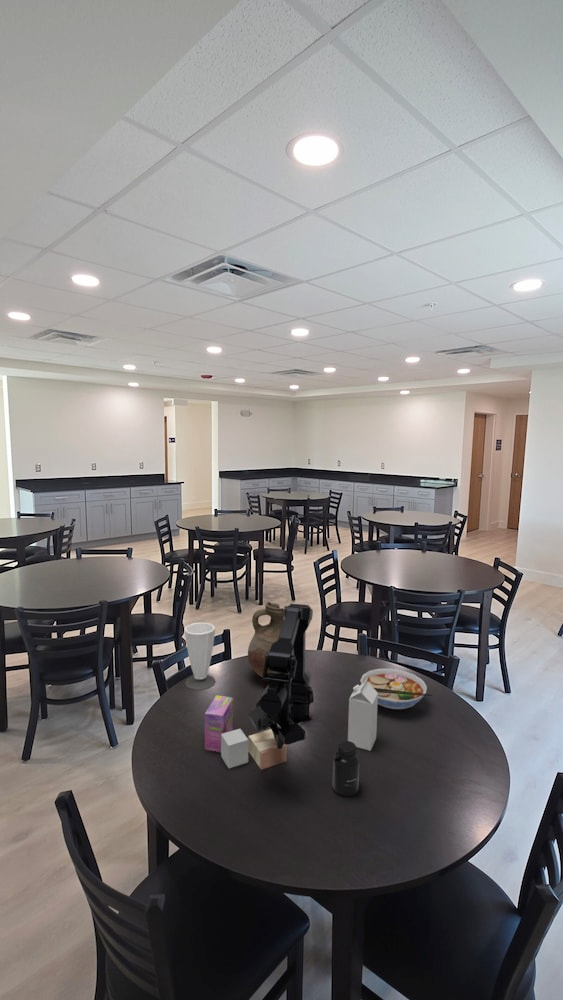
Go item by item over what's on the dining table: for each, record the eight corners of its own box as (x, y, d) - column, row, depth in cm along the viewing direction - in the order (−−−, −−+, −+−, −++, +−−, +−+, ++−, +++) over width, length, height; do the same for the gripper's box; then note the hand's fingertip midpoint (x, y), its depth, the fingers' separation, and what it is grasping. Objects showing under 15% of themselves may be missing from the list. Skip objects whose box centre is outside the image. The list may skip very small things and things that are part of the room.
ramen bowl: (425, 690, 178) (426, 669, 177) (433, 725, 156) (434, 702, 155) (357, 683, 183) (357, 663, 182) (355, 717, 160) (356, 694, 159)
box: (222, 753, 141) (222, 715, 140) (204, 750, 143) (204, 713, 141) (233, 732, 151) (233, 697, 150) (216, 729, 153) (215, 694, 151)
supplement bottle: (352, 801, 123) (353, 757, 122) (328, 790, 127) (329, 748, 125) (362, 785, 129) (364, 743, 127) (339, 775, 132) (340, 735, 131)
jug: (310, 689, 178) (311, 611, 174) (252, 695, 173) (252, 615, 169) (295, 663, 199) (296, 593, 195) (244, 668, 194) (244, 596, 190)
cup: (213, 690, 177) (212, 634, 174) (181, 689, 177) (181, 633, 174) (217, 675, 188) (217, 622, 185) (188, 674, 188) (187, 621, 185)
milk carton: (376, 738, 149) (378, 680, 147) (370, 751, 143) (372, 691, 140) (354, 732, 152) (356, 675, 150) (347, 745, 146) (349, 686, 143)
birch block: (286, 761, 138) (272, 743, 146) (286, 745, 137) (272, 728, 145) (261, 769, 134) (248, 751, 142) (261, 753, 134) (248, 735, 142)
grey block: (240, 750, 143) (240, 728, 142) (248, 762, 137) (248, 739, 137) (221, 756, 140) (221, 734, 139) (228, 768, 135) (228, 745, 134)
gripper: (239, 685, 135) (239, 737, 137) (268, 719, 119) (267, 778, 120) (274, 677, 140) (274, 727, 142) (307, 708, 124) (306, 765, 125)
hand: (279, 748), depth 132 cm, fingers closed
